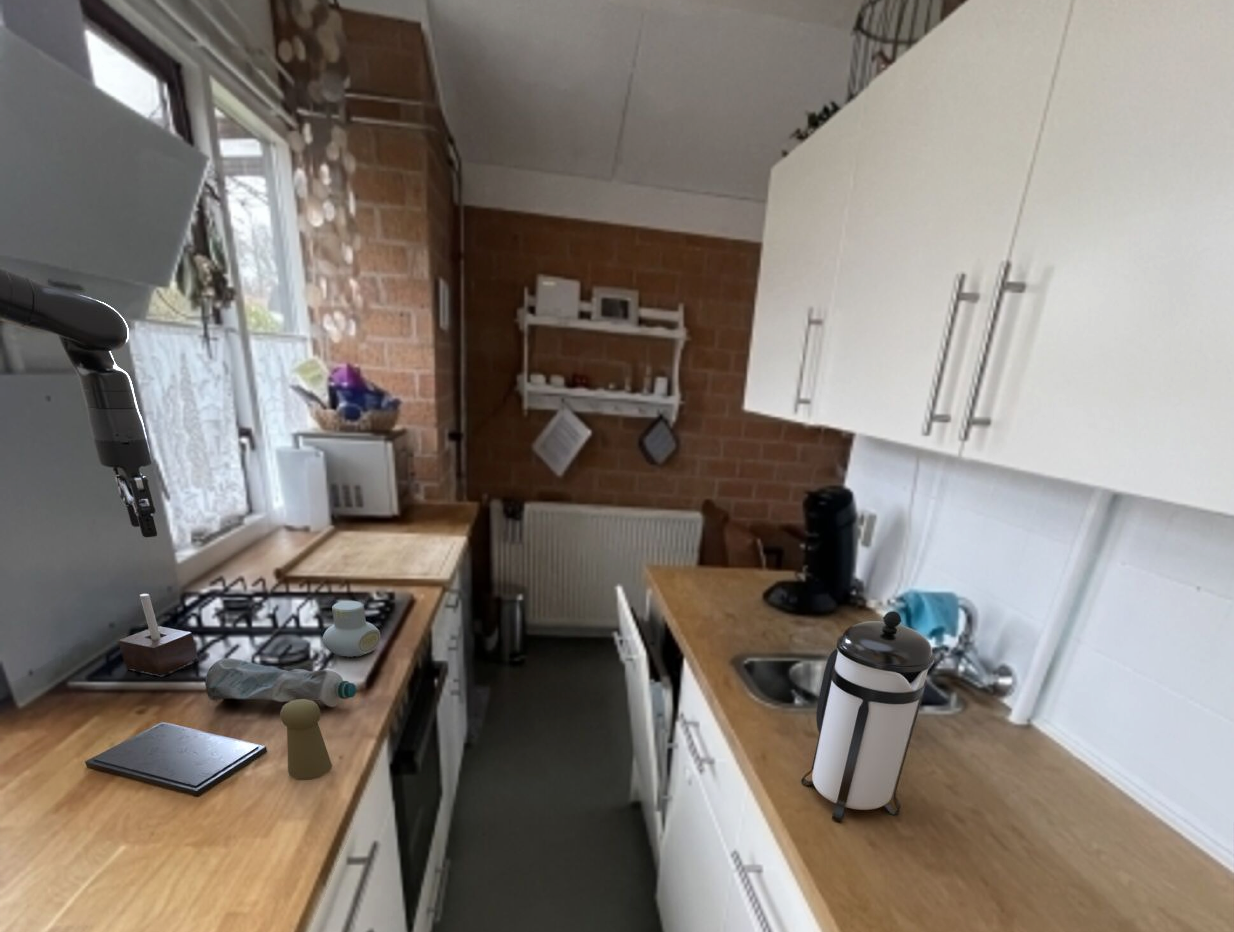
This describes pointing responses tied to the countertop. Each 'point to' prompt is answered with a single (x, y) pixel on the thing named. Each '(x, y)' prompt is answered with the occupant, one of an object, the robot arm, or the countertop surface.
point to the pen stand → (158, 650)
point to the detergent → (274, 683)
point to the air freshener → (350, 631)
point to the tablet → (177, 758)
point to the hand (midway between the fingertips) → (144, 531)
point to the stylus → (150, 616)
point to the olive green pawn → (304, 740)
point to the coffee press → (868, 713)
